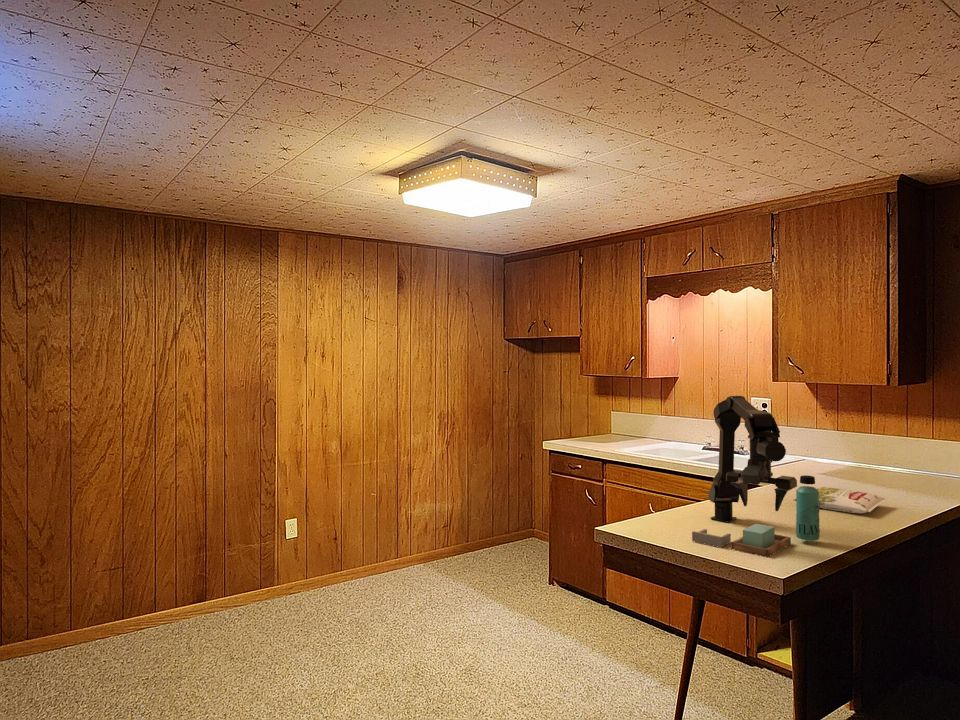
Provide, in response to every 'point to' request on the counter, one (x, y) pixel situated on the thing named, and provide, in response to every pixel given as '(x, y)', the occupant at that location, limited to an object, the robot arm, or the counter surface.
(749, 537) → the mint rectangular block
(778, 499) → the robot arm
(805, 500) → the beverage bottle
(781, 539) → the tray
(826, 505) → the frozen beans
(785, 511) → the counter surface
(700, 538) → the dock
